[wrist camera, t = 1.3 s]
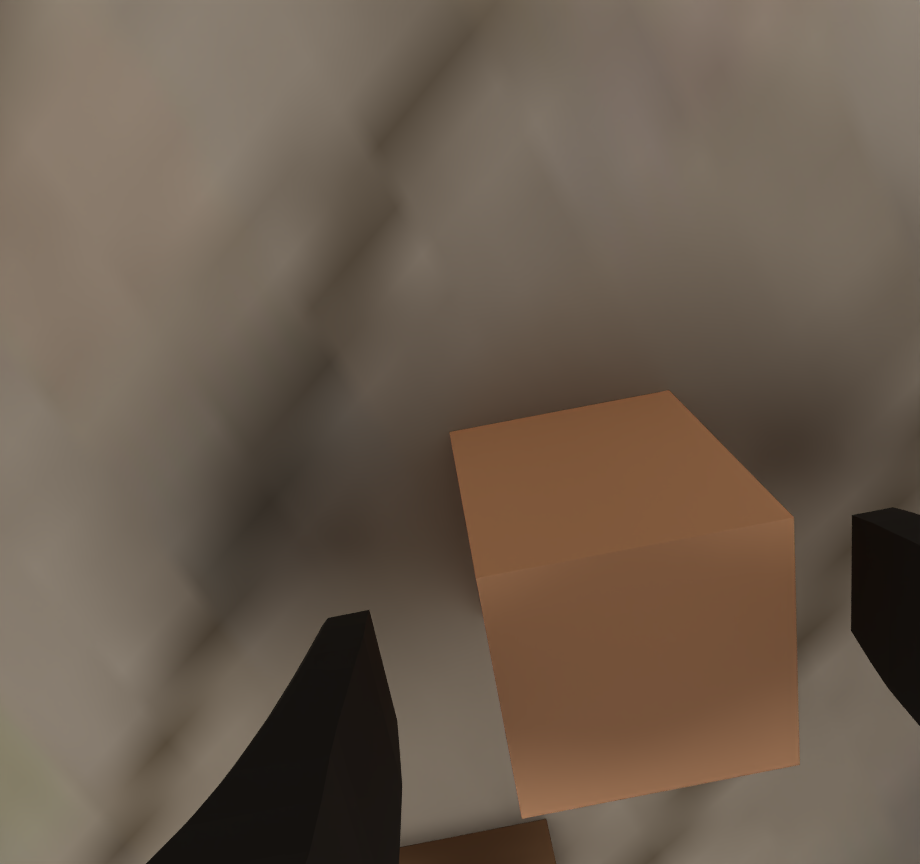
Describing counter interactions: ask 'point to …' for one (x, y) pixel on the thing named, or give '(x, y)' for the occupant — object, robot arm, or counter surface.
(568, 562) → the terracotta block
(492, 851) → the walnut slab
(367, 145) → the counter surface
